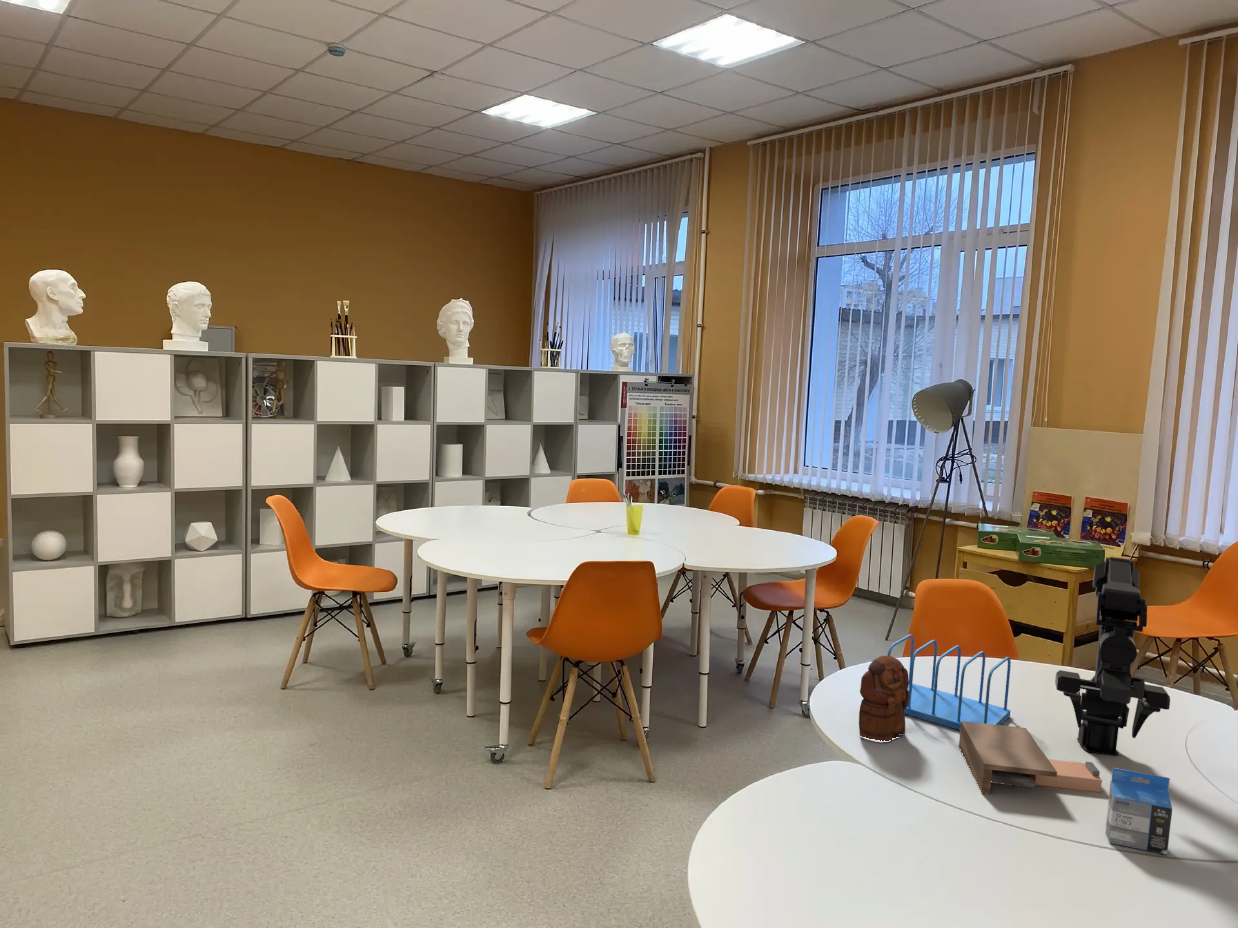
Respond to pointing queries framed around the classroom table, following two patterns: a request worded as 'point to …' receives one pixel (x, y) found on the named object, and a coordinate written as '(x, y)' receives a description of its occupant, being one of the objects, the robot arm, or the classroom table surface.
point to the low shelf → (1002, 754)
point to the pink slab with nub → (1072, 776)
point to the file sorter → (952, 695)
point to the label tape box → (1139, 811)
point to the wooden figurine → (883, 699)
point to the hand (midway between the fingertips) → (1106, 732)
